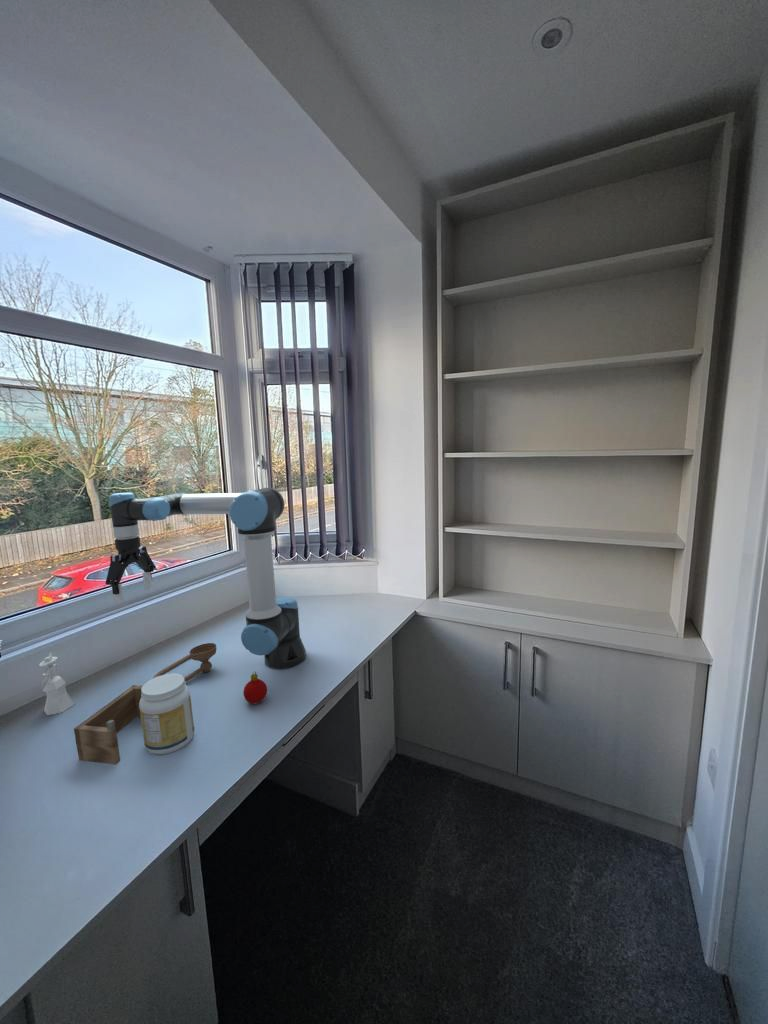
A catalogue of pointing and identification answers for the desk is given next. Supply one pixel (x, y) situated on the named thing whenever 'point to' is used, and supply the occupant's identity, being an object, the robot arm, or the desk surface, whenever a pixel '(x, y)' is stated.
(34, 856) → the desk surface
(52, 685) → the figurine
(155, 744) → the supplement tub
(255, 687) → the christmas ornament
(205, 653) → the brown curved horn
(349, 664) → the desk surface
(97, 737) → the walnut holder
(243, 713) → the desk surface
